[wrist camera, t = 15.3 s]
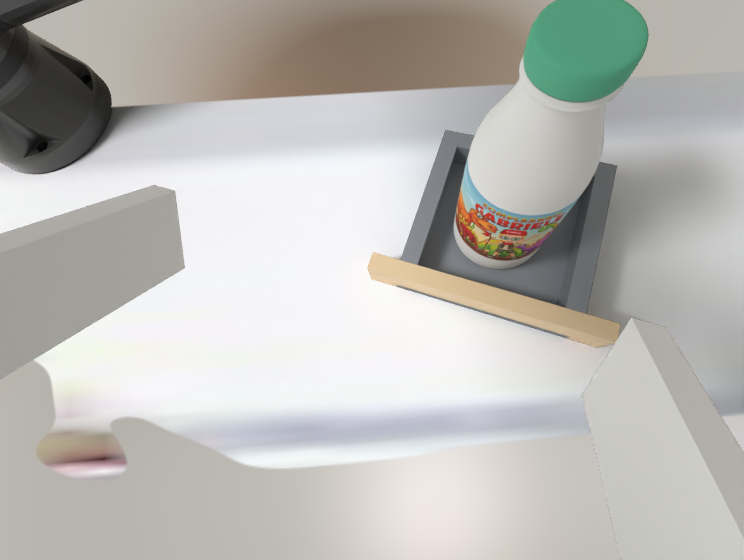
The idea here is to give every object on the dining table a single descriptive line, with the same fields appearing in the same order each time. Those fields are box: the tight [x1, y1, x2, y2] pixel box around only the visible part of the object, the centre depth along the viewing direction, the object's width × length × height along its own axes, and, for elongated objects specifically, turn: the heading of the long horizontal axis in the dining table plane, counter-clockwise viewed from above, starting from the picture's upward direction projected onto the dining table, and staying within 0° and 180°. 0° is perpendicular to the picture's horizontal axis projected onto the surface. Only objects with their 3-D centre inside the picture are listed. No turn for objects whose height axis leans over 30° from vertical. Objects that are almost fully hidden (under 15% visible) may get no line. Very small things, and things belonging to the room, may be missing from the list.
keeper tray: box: [367, 130, 620, 348], centre depth 33 cm, size 20×15×3 cm
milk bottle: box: [454, 0, 648, 269], centre depth 25 cm, size 8×8×20 cm
